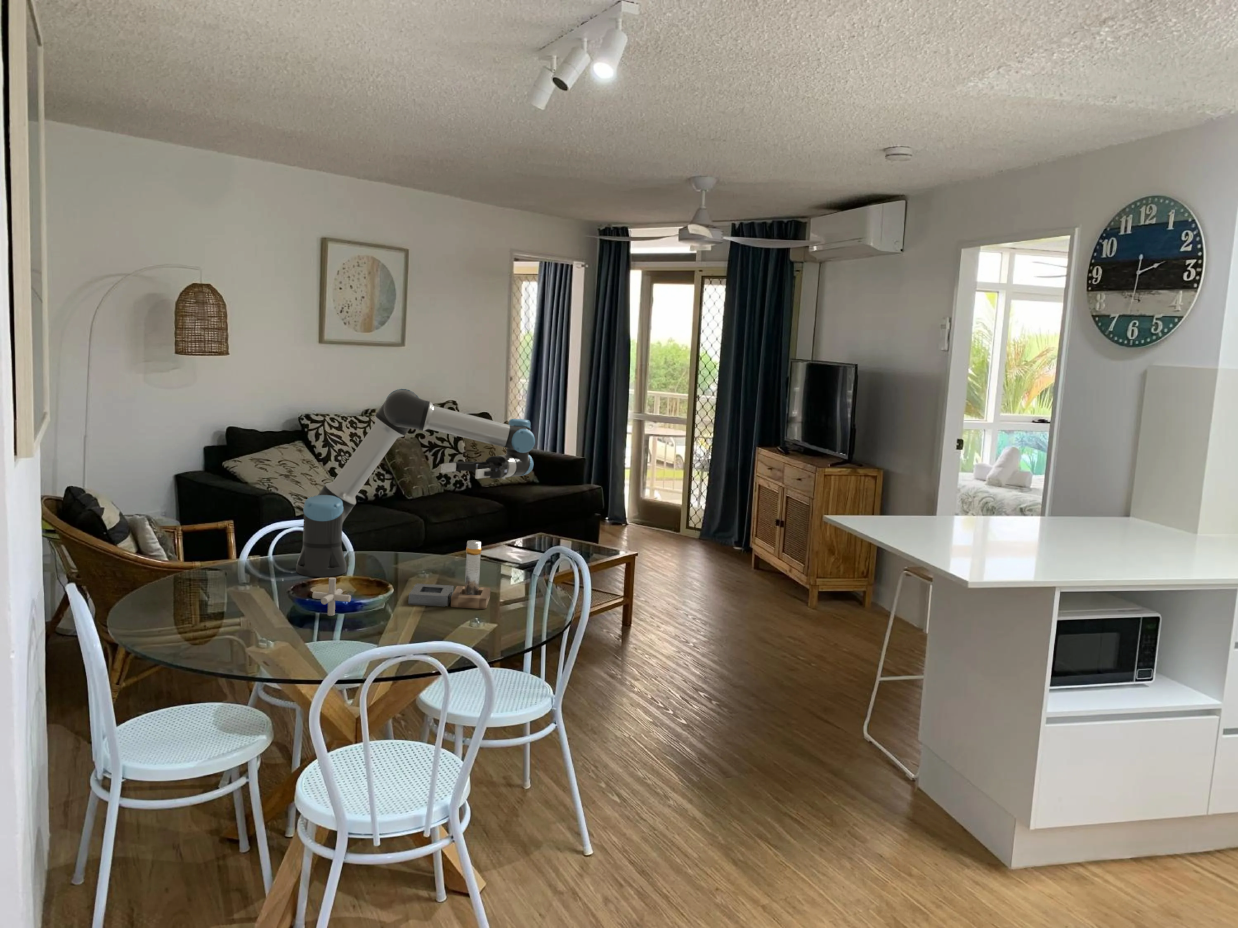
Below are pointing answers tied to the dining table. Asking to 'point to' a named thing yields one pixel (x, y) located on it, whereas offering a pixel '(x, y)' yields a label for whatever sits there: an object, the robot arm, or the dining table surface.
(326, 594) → the pipe connector
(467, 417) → the robot arm
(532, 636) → the dining table surface
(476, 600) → the block
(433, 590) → the socket block
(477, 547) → the silver banded cylinder
